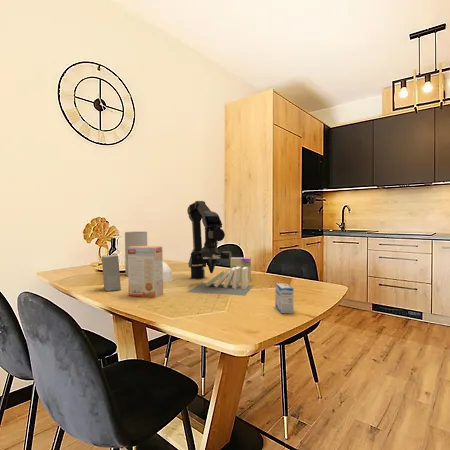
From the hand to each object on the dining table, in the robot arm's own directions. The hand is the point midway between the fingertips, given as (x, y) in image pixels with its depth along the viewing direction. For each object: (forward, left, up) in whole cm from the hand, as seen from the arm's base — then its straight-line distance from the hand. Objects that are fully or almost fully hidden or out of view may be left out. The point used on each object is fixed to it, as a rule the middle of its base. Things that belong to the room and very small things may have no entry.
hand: (211, 273), depth 144 cm
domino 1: (-2, 0, -5) cm, 6 cm away
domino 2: (+3, 0, -6) cm, 6 cm away
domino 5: (+16, 0, -6) cm, 17 cm away
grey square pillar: (-53, +21, -7) cm, 57 cm away
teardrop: (-30, +8, -7) cm, 32 cm away
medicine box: (+36, -29, -7) cm, 47 cm away
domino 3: (+7, 0, -6) cm, 9 cm away
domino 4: (+11, 0, -6) cm, 13 cm away
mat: (+6, -4, -7) cm, 10 cm away
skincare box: (-44, -15, -7) cm, 47 cm away
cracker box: (-22, -22, -7) cm, 32 cm away
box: (+10, +18, -7) cm, 22 cm away
